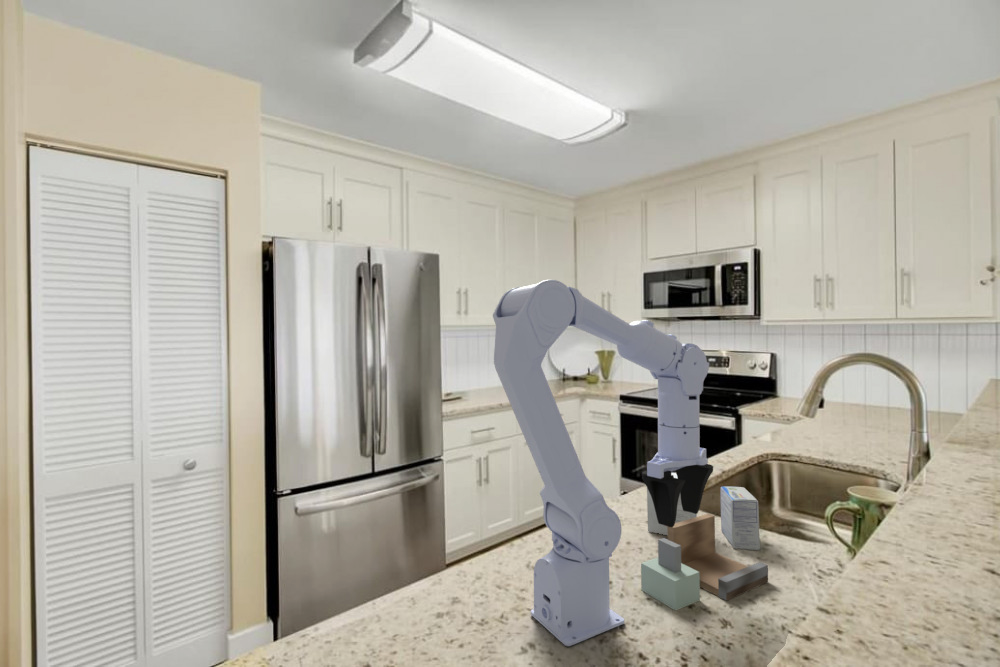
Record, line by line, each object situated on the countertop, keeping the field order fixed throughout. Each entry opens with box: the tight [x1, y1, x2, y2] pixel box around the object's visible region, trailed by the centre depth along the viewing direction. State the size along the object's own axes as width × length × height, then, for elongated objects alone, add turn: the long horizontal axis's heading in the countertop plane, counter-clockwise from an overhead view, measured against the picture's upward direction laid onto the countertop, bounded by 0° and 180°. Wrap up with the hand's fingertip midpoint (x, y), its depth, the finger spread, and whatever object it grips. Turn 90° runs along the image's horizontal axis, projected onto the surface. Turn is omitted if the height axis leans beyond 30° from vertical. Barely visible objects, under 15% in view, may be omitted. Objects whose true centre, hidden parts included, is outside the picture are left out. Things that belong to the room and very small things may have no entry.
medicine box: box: [719, 486, 761, 551], centre depth 84 cm, size 8×4×9 cm, turn 168°
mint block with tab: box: [640, 537, 701, 611], centre depth 66 cm, size 5×6×8 cm
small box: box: [646, 472, 698, 537], centre depth 89 cm, size 8×6×10 cm
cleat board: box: [667, 513, 769, 601], centre depth 72 cm, size 10×10×7 cm
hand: (678, 518), depth 68 cm, fingers open, 7 cm apart
